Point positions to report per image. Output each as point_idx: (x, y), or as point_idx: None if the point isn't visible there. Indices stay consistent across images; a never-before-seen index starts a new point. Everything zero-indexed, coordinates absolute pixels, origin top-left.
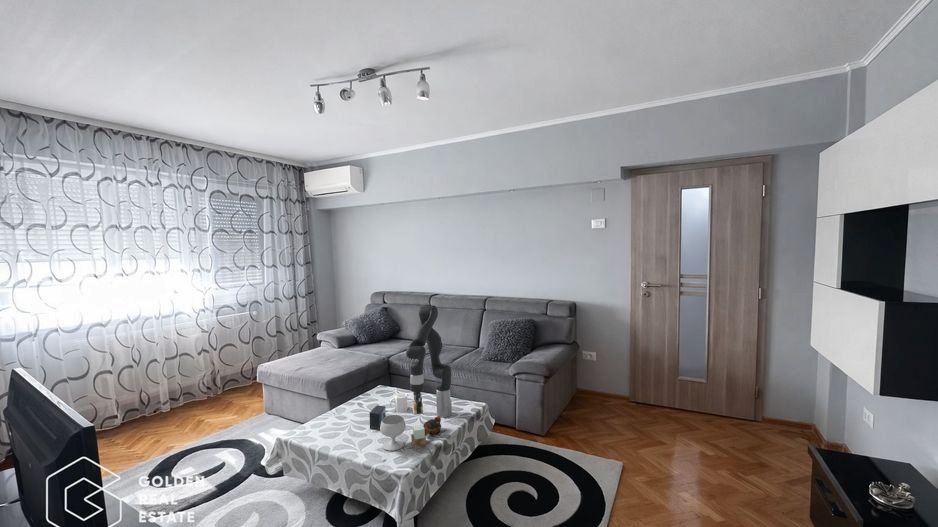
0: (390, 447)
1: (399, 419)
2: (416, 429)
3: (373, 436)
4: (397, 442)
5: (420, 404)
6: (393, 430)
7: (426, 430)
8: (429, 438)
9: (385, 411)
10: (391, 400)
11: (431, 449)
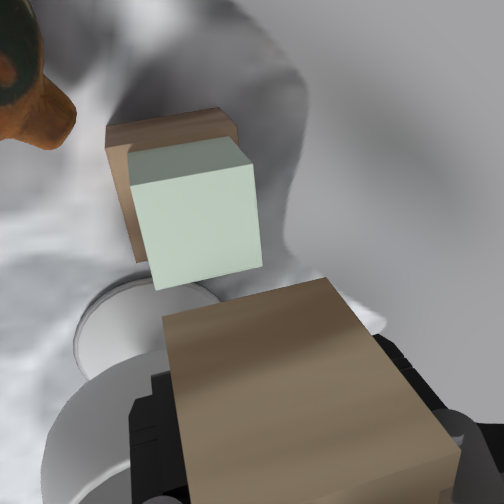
0: None
1: (56, 450)
2: (236, 250)
3: (16, 470)
4: (156, 329)
5: (495, 472)
6: None
7: (46, 108)
8: (74, 65)
9: None
10: None
11: (274, 62)
